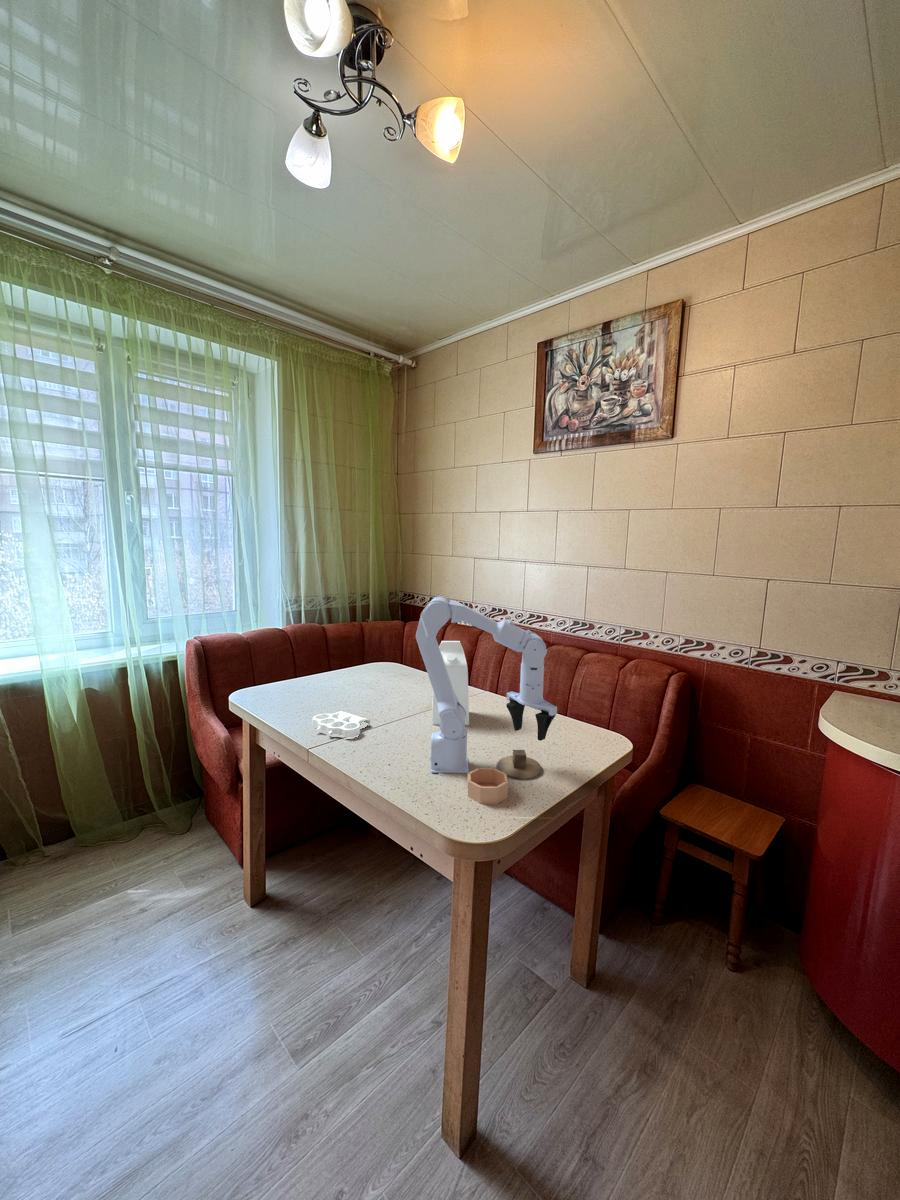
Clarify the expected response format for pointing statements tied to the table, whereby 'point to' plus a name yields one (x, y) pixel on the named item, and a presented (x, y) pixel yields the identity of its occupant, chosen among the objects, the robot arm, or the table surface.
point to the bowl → (487, 785)
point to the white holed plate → (340, 723)
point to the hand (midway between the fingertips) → (529, 734)
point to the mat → (523, 779)
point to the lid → (519, 766)
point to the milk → (454, 676)
